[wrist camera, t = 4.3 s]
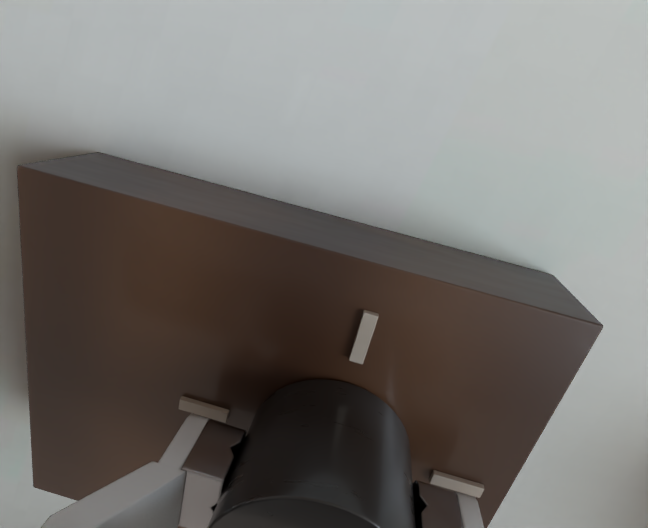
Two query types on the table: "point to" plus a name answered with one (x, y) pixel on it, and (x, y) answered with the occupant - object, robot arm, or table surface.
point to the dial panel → (270, 326)
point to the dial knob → (320, 463)
